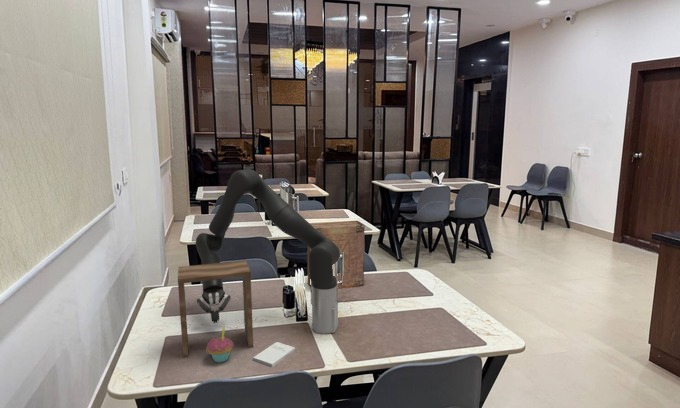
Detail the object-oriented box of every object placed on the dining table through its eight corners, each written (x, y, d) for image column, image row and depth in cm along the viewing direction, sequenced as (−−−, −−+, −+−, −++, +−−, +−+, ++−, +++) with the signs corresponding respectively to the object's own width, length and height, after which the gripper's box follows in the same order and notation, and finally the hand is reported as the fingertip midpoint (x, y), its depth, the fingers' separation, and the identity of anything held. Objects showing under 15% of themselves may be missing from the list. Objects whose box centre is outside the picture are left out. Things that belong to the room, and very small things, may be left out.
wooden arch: (183, 340, 157) (178, 266, 152) (248, 331, 164) (245, 260, 159) (183, 358, 145) (177, 279, 140) (253, 347, 152) (250, 271, 147)
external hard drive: (252, 361, 144) (276, 345, 155) (272, 368, 140) (295, 351, 151) (252, 357, 144) (276, 341, 155) (272, 363, 140) (295, 347, 151)
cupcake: (238, 354, 148) (237, 321, 146) (224, 367, 140) (223, 332, 138) (216, 350, 150) (214, 317, 148) (201, 363, 142) (199, 328, 140)
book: (312, 291, 203) (311, 228, 197) (307, 285, 211) (306, 224, 206) (363, 285, 210) (364, 224, 205) (357, 279, 219) (357, 220, 214)
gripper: (194, 276, 166) (196, 320, 157) (230, 273, 170) (234, 315, 161) (194, 285, 172) (197, 328, 163) (229, 281, 176) (233, 323, 167)
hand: (215, 321), depth 162 cm, fingers closed
